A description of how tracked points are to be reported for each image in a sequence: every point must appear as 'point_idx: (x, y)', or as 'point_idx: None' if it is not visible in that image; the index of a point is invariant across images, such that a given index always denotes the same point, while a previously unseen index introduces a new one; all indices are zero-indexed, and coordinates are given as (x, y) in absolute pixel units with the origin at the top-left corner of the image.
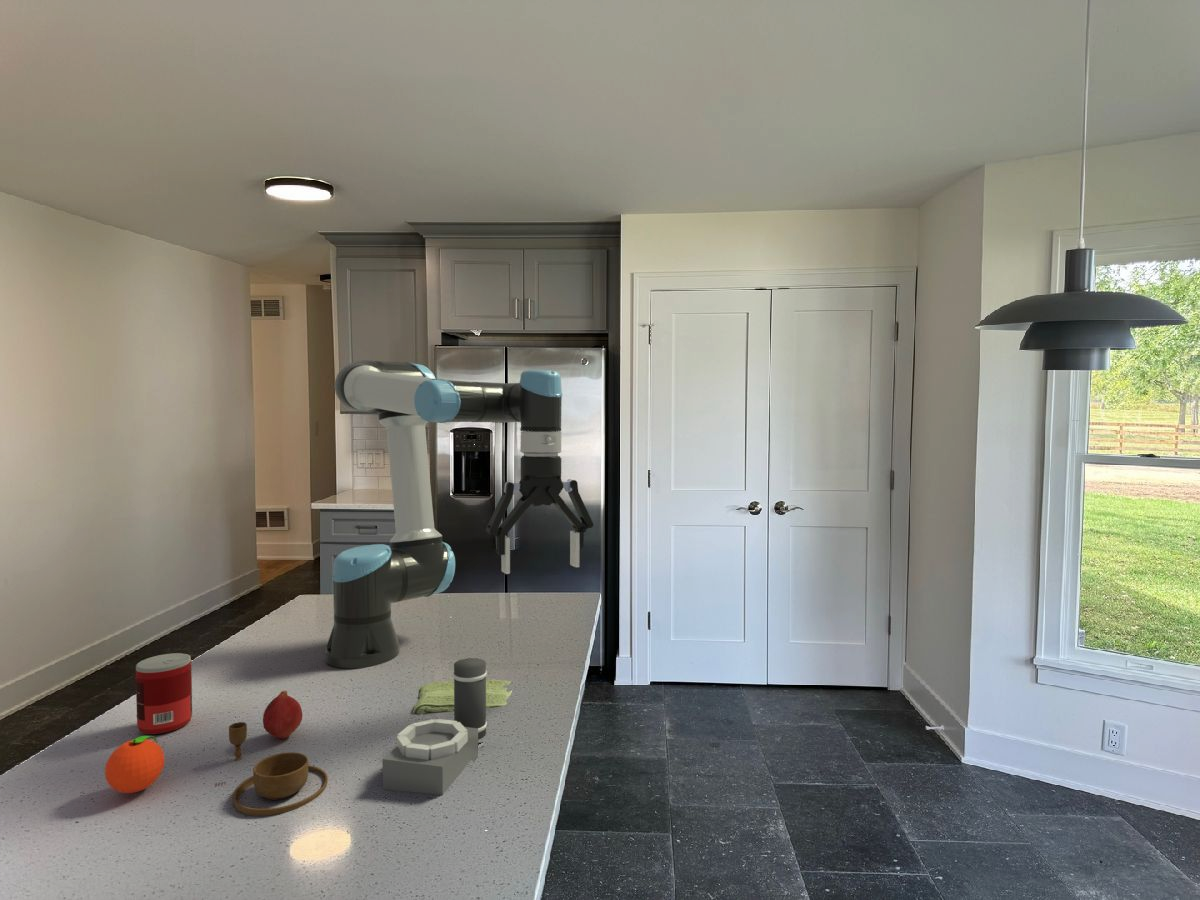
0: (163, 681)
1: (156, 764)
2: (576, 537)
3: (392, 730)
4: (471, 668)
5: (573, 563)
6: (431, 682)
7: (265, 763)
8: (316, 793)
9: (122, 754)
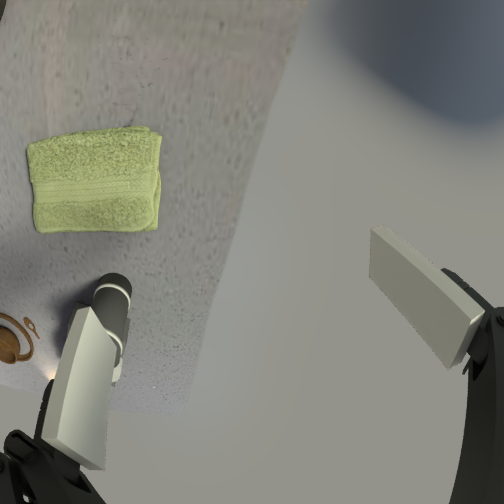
0: None
1: None
2: (438, 355)
3: (29, 248)
4: None
5: (376, 264)
6: (36, 145)
7: None
8: (32, 352)
9: None
